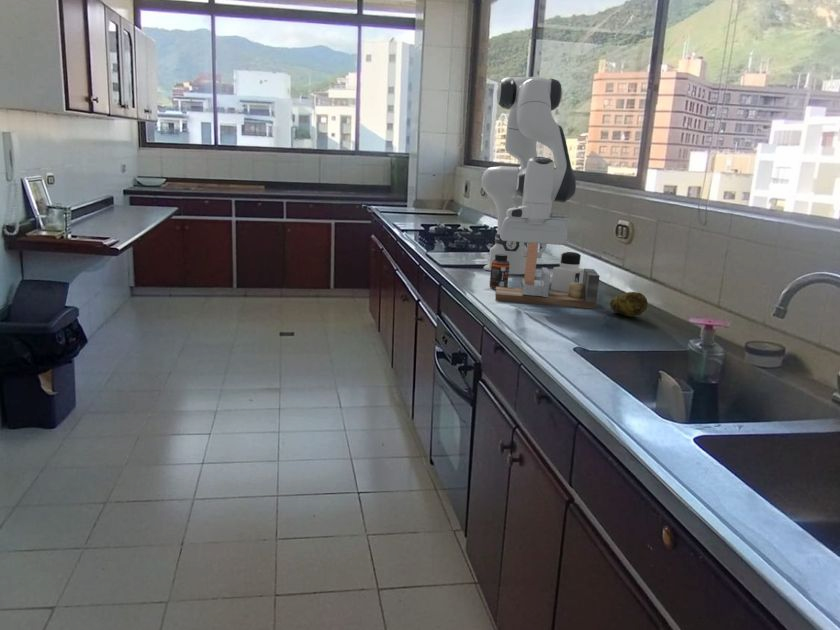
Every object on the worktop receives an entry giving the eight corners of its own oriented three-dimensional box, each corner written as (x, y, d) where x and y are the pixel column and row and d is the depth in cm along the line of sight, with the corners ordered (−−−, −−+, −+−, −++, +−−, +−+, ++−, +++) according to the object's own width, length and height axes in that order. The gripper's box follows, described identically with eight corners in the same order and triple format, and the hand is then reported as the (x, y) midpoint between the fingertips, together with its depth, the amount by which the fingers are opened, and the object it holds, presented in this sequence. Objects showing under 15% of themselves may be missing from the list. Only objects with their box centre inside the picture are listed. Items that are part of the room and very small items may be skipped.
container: (582, 291, 228) (587, 253, 224) (570, 294, 222) (575, 255, 219) (562, 287, 233) (566, 250, 229) (550, 289, 227) (554, 251, 224)
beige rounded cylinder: (567, 294, 211) (568, 282, 210) (581, 295, 210) (583, 283, 209) (568, 297, 206) (570, 284, 205) (583, 298, 206) (585, 285, 205)
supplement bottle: (506, 290, 221) (509, 256, 218) (488, 288, 222) (491, 254, 219) (507, 287, 227) (511, 254, 224) (490, 285, 228) (493, 252, 225)
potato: (634, 312, 200) (638, 286, 199) (648, 323, 188) (652, 295, 186) (607, 311, 200) (610, 284, 199) (618, 321, 188) (622, 293, 186)
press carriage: (520, 287, 216) (526, 234, 211) (544, 289, 215) (550, 236, 211) (522, 295, 204) (527, 239, 200) (547, 297, 203) (553, 241, 199)
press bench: (495, 292, 217) (498, 261, 214) (589, 300, 214) (593, 269, 212) (495, 300, 205) (498, 268, 203) (595, 308, 203) (599, 275, 200)
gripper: (569, 213, 206) (564, 258, 209) (502, 209, 208) (498, 253, 211) (572, 215, 200) (566, 261, 203) (502, 210, 201) (498, 256, 205)
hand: (531, 257), depth 207 cm, fingers closed on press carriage, 3 cm apart
